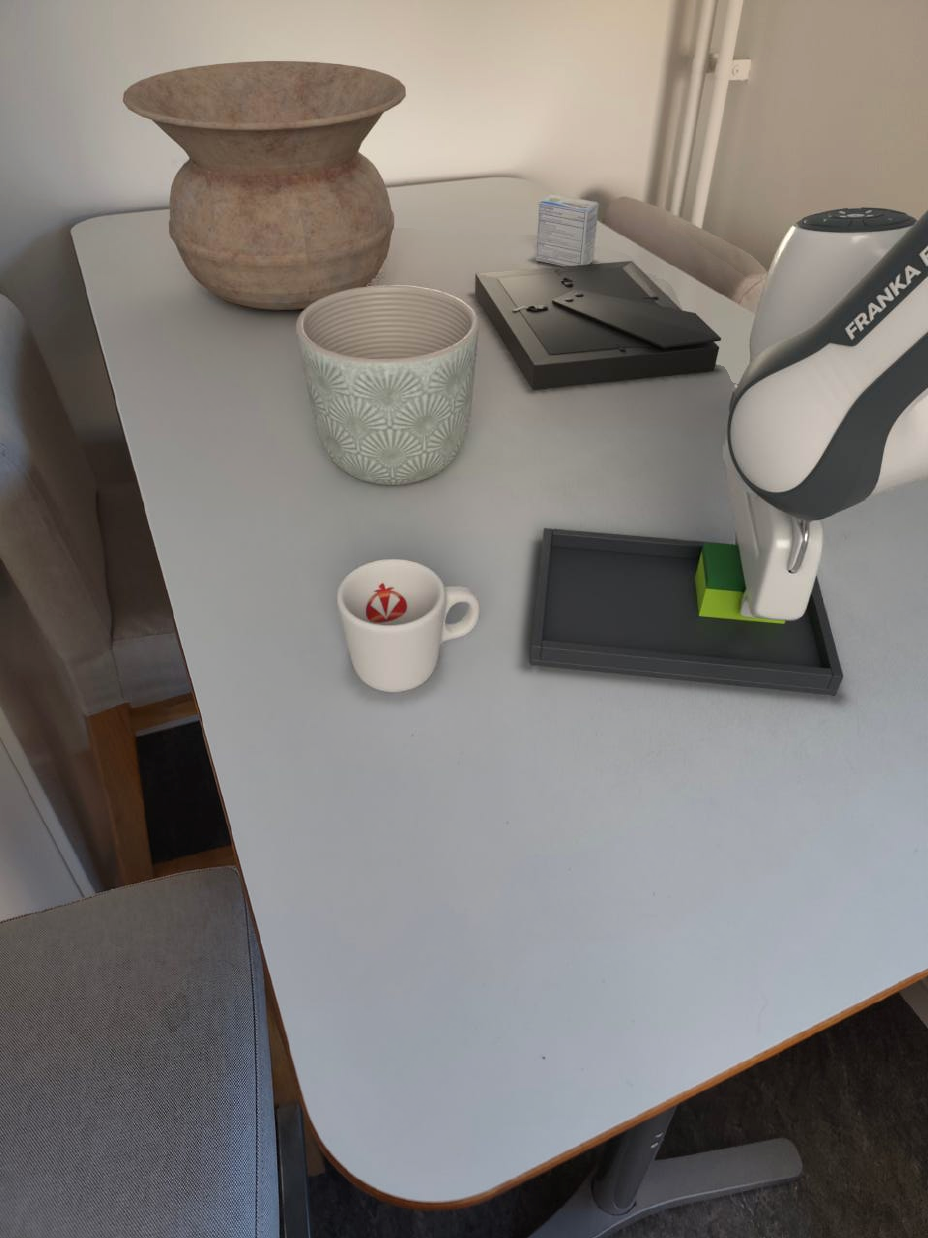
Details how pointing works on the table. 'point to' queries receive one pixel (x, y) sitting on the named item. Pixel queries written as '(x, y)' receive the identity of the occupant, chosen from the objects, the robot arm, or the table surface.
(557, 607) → the tray
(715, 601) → the sponge
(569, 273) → the picture frame
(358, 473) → the planter
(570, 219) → the medicine box
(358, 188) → the pot
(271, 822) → the table surface
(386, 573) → the cup
